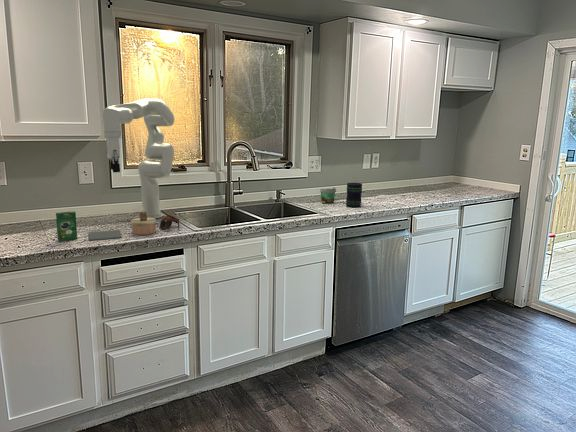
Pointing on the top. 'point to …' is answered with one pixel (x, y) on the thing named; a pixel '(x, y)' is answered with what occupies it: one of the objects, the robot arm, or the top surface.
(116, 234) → the mat
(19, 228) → the top surface
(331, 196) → the food container
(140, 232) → the bowl
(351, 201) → the storage jar
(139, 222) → the lid
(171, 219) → the pottery mug
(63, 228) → the coffee box
